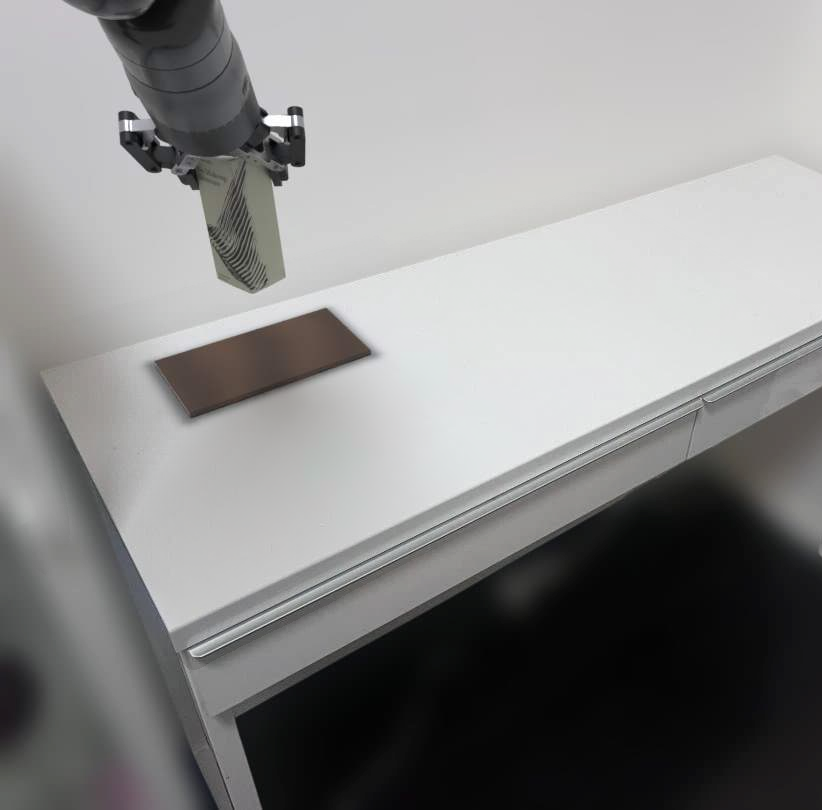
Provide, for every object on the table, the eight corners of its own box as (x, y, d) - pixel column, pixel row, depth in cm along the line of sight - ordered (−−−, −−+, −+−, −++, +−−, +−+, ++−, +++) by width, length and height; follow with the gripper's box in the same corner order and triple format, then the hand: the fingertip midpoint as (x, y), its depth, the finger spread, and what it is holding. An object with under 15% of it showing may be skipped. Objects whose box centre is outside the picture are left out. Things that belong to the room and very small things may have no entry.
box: (216, 281, 76) (184, 146, 68) (252, 263, 79) (226, 132, 71) (255, 297, 74) (227, 160, 66) (291, 278, 77) (268, 145, 69)
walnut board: (190, 417, 80) (189, 413, 80) (155, 365, 87) (153, 360, 86) (371, 354, 90) (370, 349, 90) (326, 311, 97) (326, 307, 96)
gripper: (294, 28, 58) (316, 136, 74) (76, 29, 55) (148, 141, 71) (303, 127, 57) (323, 214, 73) (82, 133, 54) (154, 222, 70)
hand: (237, 178), depth 72 cm, fingers closed on box, 6 cm apart
